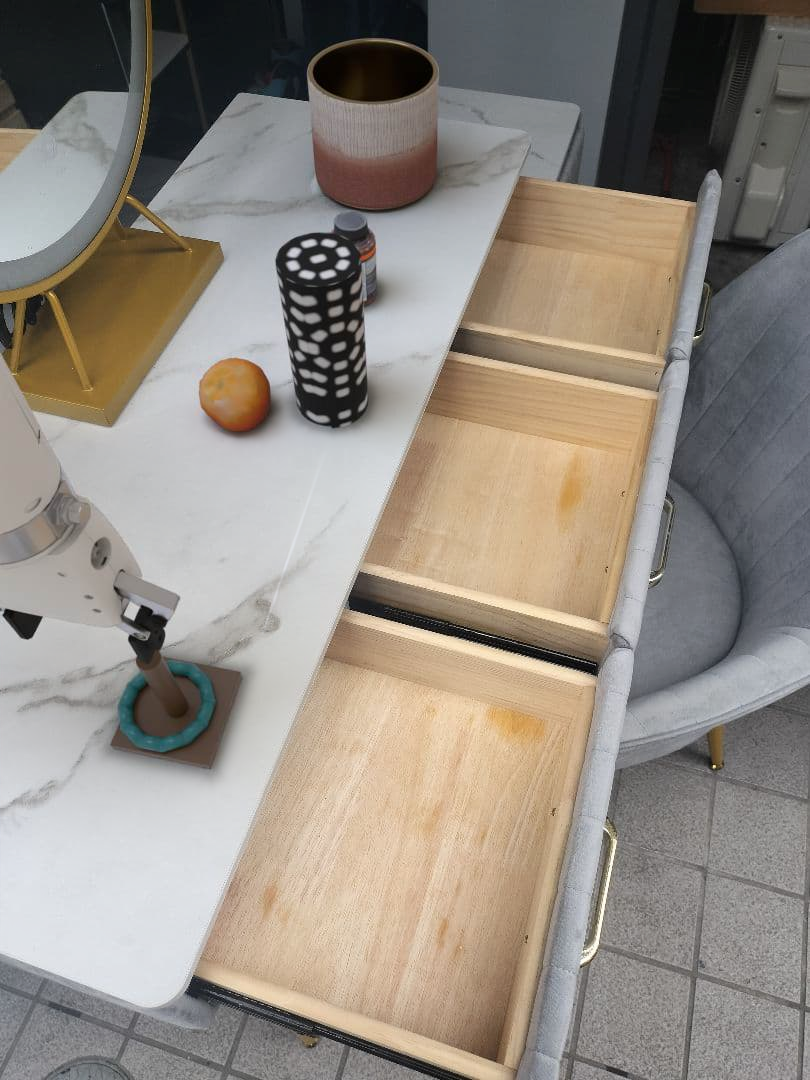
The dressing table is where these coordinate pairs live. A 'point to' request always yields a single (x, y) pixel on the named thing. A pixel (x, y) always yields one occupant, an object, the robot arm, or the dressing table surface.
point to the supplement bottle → (360, 248)
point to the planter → (374, 122)
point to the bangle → (177, 739)
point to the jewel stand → (179, 710)
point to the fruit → (235, 394)
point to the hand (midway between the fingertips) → (93, 634)
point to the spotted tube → (325, 326)
